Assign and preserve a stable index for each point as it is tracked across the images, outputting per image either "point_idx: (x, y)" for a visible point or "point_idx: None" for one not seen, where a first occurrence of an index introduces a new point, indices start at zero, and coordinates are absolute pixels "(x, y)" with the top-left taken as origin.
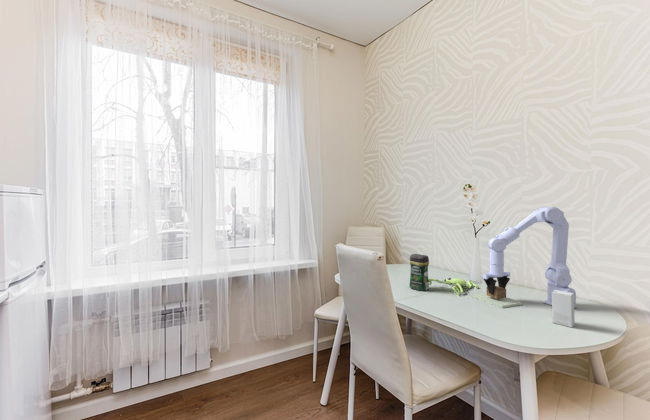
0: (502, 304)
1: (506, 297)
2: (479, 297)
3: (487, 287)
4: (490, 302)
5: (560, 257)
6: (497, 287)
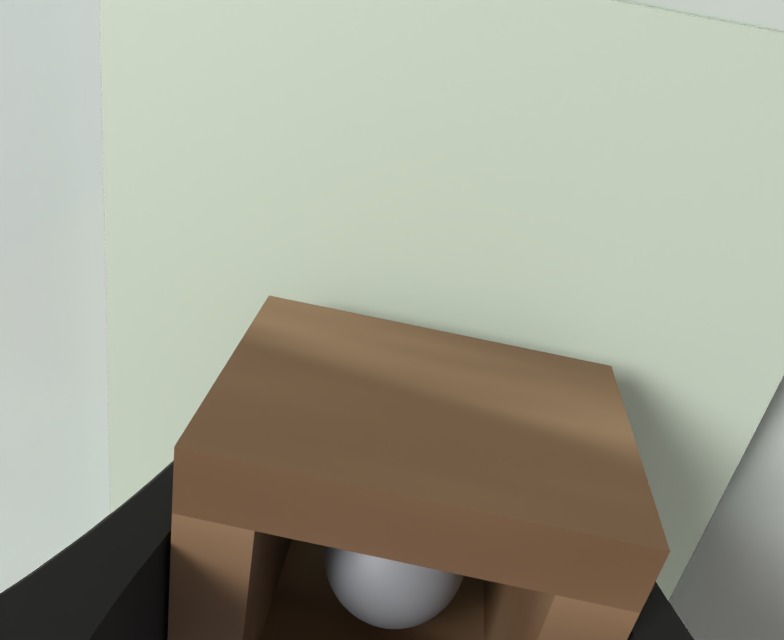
0: None
1: (697, 514)
2: (103, 175)
3: (176, 472)
4: (118, 447)
5: None
6: (530, 628)
